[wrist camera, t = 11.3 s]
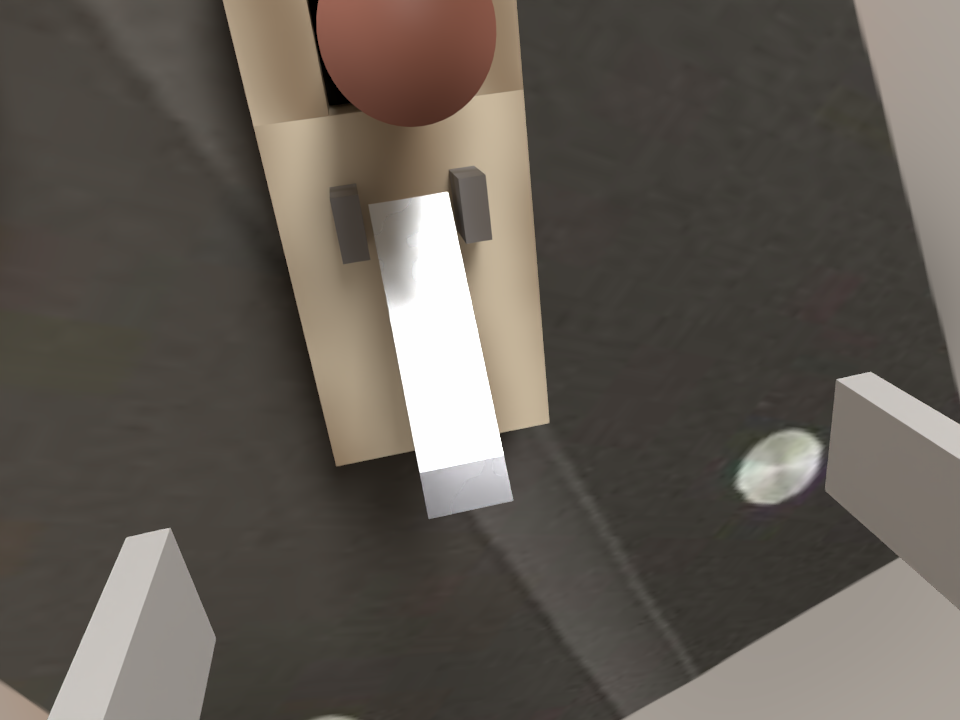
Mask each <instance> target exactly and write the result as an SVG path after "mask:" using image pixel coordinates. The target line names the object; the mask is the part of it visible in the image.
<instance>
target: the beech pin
mask: <svg viewBox="0 0 960 720" xmlns="http://www.w3.org/2000/svg"><path fill="white" fill-rule="evenodd" d="M316 25H317V37H318V44H319V48H320V52H321V56H322V59H323V61H324V64H325V66H326V69H327V71H328V73H329V75H330V76H331V78H332V80H333V82H334V83H335V85H336V86H337V87H338V89H339V90H340V92H341V93H342V94H343V95H344V96H345V97H346V98H347V99H348V100H349V101H350V102H351V103H352V104H353V105H354V106H355V107H357V108H358V109H359V110H361V111H362V112H364V113H365V114H367V115H368V116H370V117H372V118H374V119H376V120H378V121H381V122H384V123H387V124H391V125H396V126H402V127H419V126H426V125H431V124H434V123H437V122H440V121H443V120H445V119H447V118H448V117H450V116H452V115H454V114H455V113H457V112H458V111H459V110H461V109H462V108H463V107H464V106H465V105H467V104H468V103H469V102H470V101H471V100H472V98H473V97H474V96H475V95H476V94H477V92H478V91H479V89H480V88H481V86H482V84H483V83H484V81H485V79H486V77H487V75H488V73H489V70H490V67H491V64H492V61H493V57H494V52H495V47H496V35H497V33H496V18H495V11H494V6H493V3H492V0H319V1H318V7H317V16H316Z"/></svg>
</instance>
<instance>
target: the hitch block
mask: <svg viewBox="0 0 960 720" xmlns="http://www.w3.org/2000/svg"><path fill="white" fill-rule="evenodd" d="M223 3H224V7H225V12H226V16H227V20H228V24H229V28H230V32H231V36H232V40H233V44H234V49H235V53H236V57H237V61H238V65H239V69H240V73H241V77H242V81H243V85H244V90H245V94H246V98H247V102H248V106H249V110H250V114H251V118H252V122H253V126H254V131H255V135H256V139H257V143H258V147H259V151H260V155H261V159H262V163H263V167H264V172H265V176H266V180H267V184H268V188H269V192H270V196H271V200H272V204H273V208H274V213H275V217H276V221H277V225H278V229H279V233H280V237H281V241H282V245H283V250H284V254H285V258H286V262H287V266H288V270H289V274H290V278H291V282H292V286H293V291H294V295H295V299H296V303H297V307H298V311H299V315H300V319H301V323H302V327H303V332H304V336H305V340H306V344H307V348H308V352H309V356H310V360H311V364H312V368H313V373H314V377H315V381H316V385H317V389H318V393H319V397H320V401H321V405H322V410H323V414H324V418H325V422H326V426H327V430H328V434H329V438H330V442H331V446H332V451H333V455H334V459H335V463H336V466H341V465H346V464H351V463H356V462H361V461H366V460H370V459H375V458H380V457H385V456H390V455H395V454H400V453H405V452H410V451H414V450H415V447H414V442H413V437H412V432H411V427H410V421H409V416H408V411H407V406H406V400H405V395H404V390H403V385H402V380H401V374H400V369H399V364H398V359H397V354H396V348H395V343H394V338H393V333H392V327H391V322H390V317H389V312H388V307H387V301H386V296H385V291H384V286H383V280H382V275H381V270H380V265H379V260H378V254H377V249H376V244H375V239H374V234H373V228H372V223H371V218H370V212H369V206H368V204H375V203H381V202H388V201H394V200H401V199H407V198H413V197H420V196H426V195H433V194H439V193H446V192H448V195H449V200H450V205H451V209H452V214H453V219H454V223H455V228H456V233H457V238H458V242H459V247H460V252H461V256H462V261H463V266H464V271H465V275H466V280H467V285H468V289H469V294H470V299H471V304H472V308H473V313H474V318H475V322H476V327H477V332H478V337H479V341H480V346H481V351H482V355H483V360H484V365H485V370H486V374H487V379H488V384H489V388H490V393H491V398H492V403H493V407H494V412H495V417H496V421H497V426H498V431H499V433H502V432H507V431H512V430H517V429H522V428H527V427H532V426H537V425H542V424H546V423H549V411H548V398H547V386H546V373H545V360H544V347H543V335H542V322H541V309H540V296H539V283H538V271H537V258H536V245H535V232H534V220H533V207H532V194H531V181H530V169H529V156H528V143H527V130H526V118H525V105H524V92H523V79H522V67H521V54H520V41H519V28H518V16H517V3H516V0H492V3H493V6H494V11H495V18H496V33H497V35H496V47H495V52H494V57H493V61H492V64H491V67H490V70H489V73H488V75H487V77H486V79H485V81H484V83H483V84H482V86H481V88H480V89H479V91H478V92H477V94H476V95H475V96H474V97H473V98H472V100H471V101H470V102H469V103H468V104H467V105H465V106H464V107H463V108H462V109H461V110H459V111H458V112H457V113H455V114H454V115H452V116H450V117H448V118H447V119H445V120H443V121H440V122H437V123H434V124H431V125H426V126H419V127H402V126H396V125H391V124H387V123H384V122H381V121H378V120H376V119H374V118H372V117H370V116H368V115H367V114H365V113H364V112H362V111H361V110H359V109H358V108H357V107H355V106H354V105H353V104H352V103H347V104H340V105H332V106H329V103H328V98H327V93H326V87H325V82H324V77H323V72H322V67H321V62H320V57H319V52H318V46H317V41H316V36H315V31H314V26H313V21H312V16H311V11H310V6H309V0H223Z"/></svg>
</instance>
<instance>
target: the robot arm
mask: <svg viewBox="0 0 960 720" xmlns="http://www.w3.org/2000/svg"><path fill="white" fill-rule="evenodd" d="M825 491H826V492H827V493H828V494H830V495H831V496H832V497H833V498H834V499H835V500H836V501H837V502H839V503H840V504H841V505H842V506H843V507H844V508H845V509H846V510H848V511H849V512H850V513H851V514H852V515H853V516H854V517H855V518H857V519H858V520H859V521H860V522H861V523H862V524H863V525H864V526H866V527H867V528H868V529H869V530H870V531H871V532H872V533H873V534H875V535H876V536H877V537H878V538H879V539H880V540H881V541H882V542H884V543H885V544H886V545H887V546H888V547H889V548H890V549H891V550H893V551H894V552H895V553H896V554H897V555H898V556H899V557H900V558H902V559H903V560H904V561H905V562H906V563H907V564H909V566H911V567H912V568H913V569H914V570H915V571H916V572H917V573H919V574H920V575H921V576H922V577H923V578H924V579H925V580H926V581H927V582H929V583H930V584H931V585H932V586H933V587H934V588H936V590H938V591H939V592H940V593H941V594H942V595H943V596H944V597H946V598H947V599H948V600H949V601H950V602H951V603H952V604H954V605H955V606H956V607H957V608H958V609H959V610H960V424H958V423H956V422H955V421H953V420H951V419H949V418H948V417H946V416H944V415H943V414H941V413H939V412H938V411H936V410H934V409H933V408H931V407H929V406H927V405H926V404H924V403H922V402H921V401H919V400H917V399H916V398H914V397H912V396H911V395H909V394H907V393H905V392H904V391H902V390H900V389H899V388H897V387H895V386H894V385H892V384H890V383H889V382H887V381H885V380H883V379H882V378H880V377H878V376H877V375H875V374H873V373H872V372H868V373H863V374H859V375H854V376H850V377H845V378H841V379H836V387H835V397H834V407H833V416H832V426H831V436H830V445H829V455H828V465H827V475H826V484H825ZM215 641H216V637H215V635H214V632H213V630H212V627H211V625H210V623H209V620H208V618H207V615H206V613H205V610H204V608H203V606H202V603H201V601H200V598H199V596H198V593H197V591H196V589H195V586H194V584H193V581H192V579H191V577H190V574H189V572H188V569H187V567H186V564H185V562H184V560H183V557H182V555H181V552H180V550H179V547H178V545H177V543H176V540H175V538H174V535H173V533H172V530H171V528H167V529H162V530H158V531H153V532H149V533H144V534H140V535H136V536H131V537H127V538H126V539H125V542H124V544H123V546H122V549H121V551H120V553H119V556H118V558H117V560H116V562H115V565H114V567H113V569H112V572H111V574H110V576H109V579H108V581H107V583H106V586H105V588H104V590H103V592H102V595H101V597H100V599H99V602H98V604H97V606H96V609H95V611H94V613H93V615H92V618H91V620H90V622H89V625H88V627H87V629H86V632H85V634H84V636H83V639H82V641H81V643H80V645H79V648H78V650H77V652H76V655H75V657H74V659H73V662H72V664H71V666H70V668H69V671H68V673H67V675H66V678H65V680H64V682H63V685H62V687H61V689H60V692H59V694H58V696H57V698H56V701H55V703H54V705H53V708H52V710H51V712H50V715H49V717H48V719H47V720H199V719H200V714H201V709H202V704H203V699H204V694H205V689H206V685H207V680H208V675H209V670H210V665H211V660H212V655H213V650H214V646H215Z"/></svg>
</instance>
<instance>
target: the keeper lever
mask: <svg viewBox="0 0 960 720" xmlns="http://www.w3.org/2000/svg"><path fill="white" fill-rule="evenodd" d="M368 206H369V212H370V218H371V223H372V228H373V234H374V239H375V244H376V249H377V254H378V260H379V265H380V270H381V275H382V280H383V286H384V291H385V296H386V301H387V307H388V312H389V317H390V322H391V327H392V333H393V338H394V343H395V348H396V354H397V359H398V364H399V369H400V374H401V380H402V385H403V390H404V395H405V400H406V406H407V411H408V416H409V421H410V427H411V432H412V437H413V442H414V447H415V453H416V458H417V463H418V468H419V474H420V479H421V484H422V489H423V494H424V500H425V505H426V510H427V515H428V519H431V518H436V517H441V516H445V515H450V514H454V513H459V512H463V511H468V510H473V509H477V508H482V507H486V506H491V505H495V504H500V503H505V502H509V501H513V497H512V492H511V487H510V483H509V478H508V473H507V468H506V464H505V459H504V454H503V450H502V445H501V440H500V435H499V431H498V426H497V421H496V417H495V412H494V407H493V403H492V398H491V393H490V388H489V384H488V379H487V374H486V370H485V365H484V360H483V355H482V351H481V346H480V341H479V337H478V332H477V327H476V322H475V318H474V313H473V308H472V304H471V299H470V294H469V289H468V285H467V280H466V275H465V271H464V266H463V261H462V256H461V252H460V247H459V242H458V238H457V233H456V228H455V223H454V219H453V214H452V209H451V205H450V200H449V195H448V192H446V193H439V194H433V195H426V196H420V197H413V198H407V199H401V200H394V201H388V202H381V203H375V204H368Z"/></svg>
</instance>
